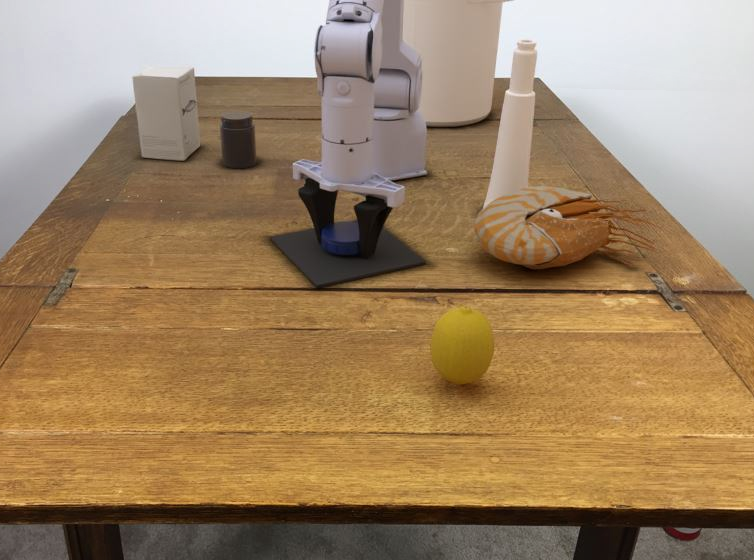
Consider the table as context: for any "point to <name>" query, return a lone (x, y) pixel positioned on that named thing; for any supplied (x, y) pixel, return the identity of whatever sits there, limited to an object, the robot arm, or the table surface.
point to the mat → (344, 258)
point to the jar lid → (341, 238)
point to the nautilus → (548, 227)
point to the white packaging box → (167, 112)
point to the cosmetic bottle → (515, 126)
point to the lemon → (462, 345)
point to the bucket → (454, 57)
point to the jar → (238, 139)
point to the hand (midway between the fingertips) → (345, 248)
